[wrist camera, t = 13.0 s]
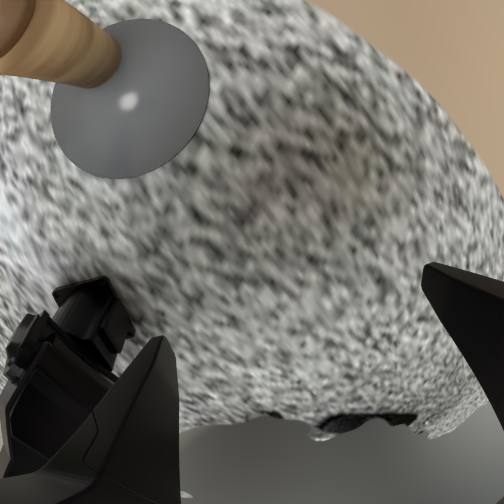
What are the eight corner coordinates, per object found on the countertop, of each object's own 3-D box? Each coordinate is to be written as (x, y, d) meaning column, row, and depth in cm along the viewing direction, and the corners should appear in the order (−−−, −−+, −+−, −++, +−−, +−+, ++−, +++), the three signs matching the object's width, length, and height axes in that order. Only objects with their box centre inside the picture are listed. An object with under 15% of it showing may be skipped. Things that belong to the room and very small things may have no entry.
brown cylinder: (64, 90, 14) (-49, 82, 4) (77, 38, 12) (-20, -6, 2) (114, 88, 15) (11, 60, 4) (127, 34, 13) (50, -38, 3)
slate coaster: (74, 198, 18) (72, 200, 17) (44, 61, 13) (42, 60, 12) (225, 151, 18) (225, 151, 18) (192, 2, 13) (191, -1, 13)
